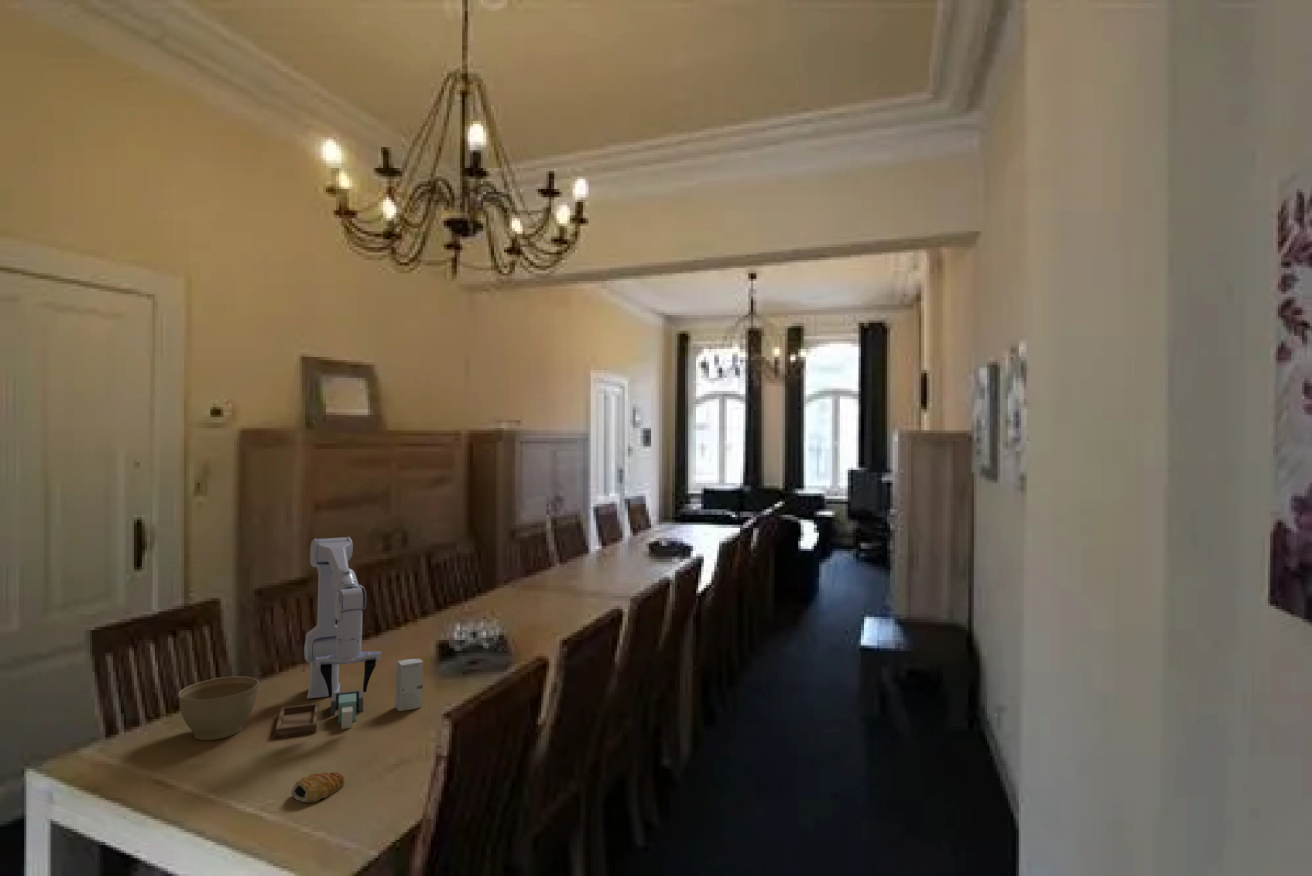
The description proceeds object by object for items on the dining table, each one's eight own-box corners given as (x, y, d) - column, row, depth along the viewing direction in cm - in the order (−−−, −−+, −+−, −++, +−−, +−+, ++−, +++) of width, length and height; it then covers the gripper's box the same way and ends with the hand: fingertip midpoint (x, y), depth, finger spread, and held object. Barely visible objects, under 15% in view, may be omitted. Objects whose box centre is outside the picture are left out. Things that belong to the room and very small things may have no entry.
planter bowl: (247, 714, 174) (248, 671, 174) (265, 733, 162) (267, 688, 163) (170, 731, 163) (172, 685, 163) (184, 754, 151) (186, 704, 151)
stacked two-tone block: (338, 714, 175) (339, 695, 175) (355, 712, 176) (356, 693, 177) (337, 729, 166) (338, 708, 166) (355, 727, 167) (356, 706, 167)
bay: (331, 706, 180) (331, 692, 180) (362, 702, 183) (363, 689, 183) (330, 715, 174) (331, 701, 174) (363, 711, 177) (363, 697, 177)
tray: (281, 715, 174) (281, 707, 174) (318, 710, 177) (319, 703, 177) (275, 737, 160) (275, 729, 160) (316, 732, 164) (316, 724, 164)
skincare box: (398, 712, 177) (400, 665, 177) (394, 706, 181) (395, 660, 181) (423, 707, 181) (424, 661, 181) (418, 702, 184) (419, 657, 185)
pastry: (331, 778, 142) (332, 760, 142) (352, 787, 138) (352, 768, 138) (287, 798, 134) (288, 778, 134) (308, 808, 130) (309, 788, 130)
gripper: (315, 644, 161) (313, 702, 161) (381, 638, 167) (380, 694, 167) (316, 636, 167) (315, 692, 167) (380, 631, 173) (379, 685, 173)
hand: (347, 692), depth 167 cm, fingers open, 7 cm apart
